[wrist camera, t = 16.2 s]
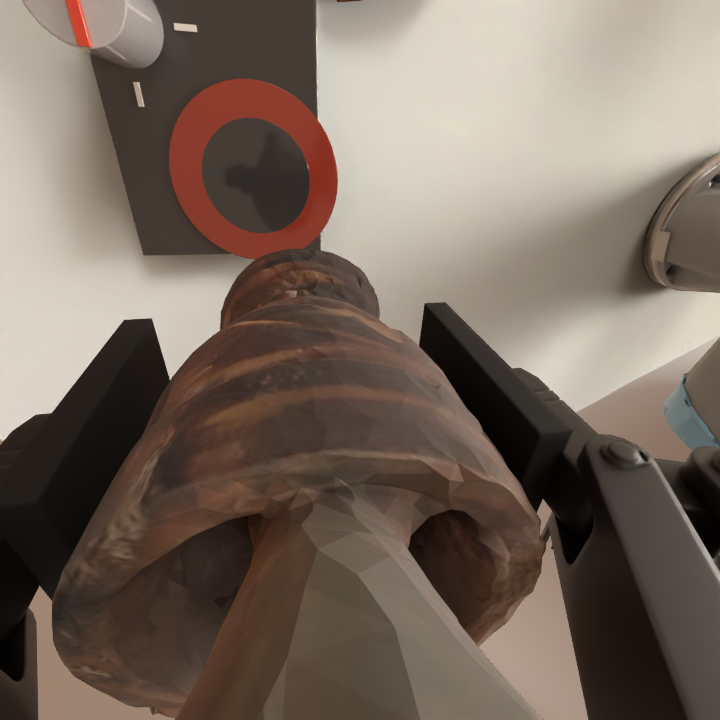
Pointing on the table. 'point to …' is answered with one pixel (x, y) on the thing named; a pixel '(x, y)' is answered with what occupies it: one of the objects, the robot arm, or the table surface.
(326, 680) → the mortar and pestle
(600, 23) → the table surface
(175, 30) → the stove
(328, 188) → the burner
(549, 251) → the table surface
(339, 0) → the croissant
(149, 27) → the knob
